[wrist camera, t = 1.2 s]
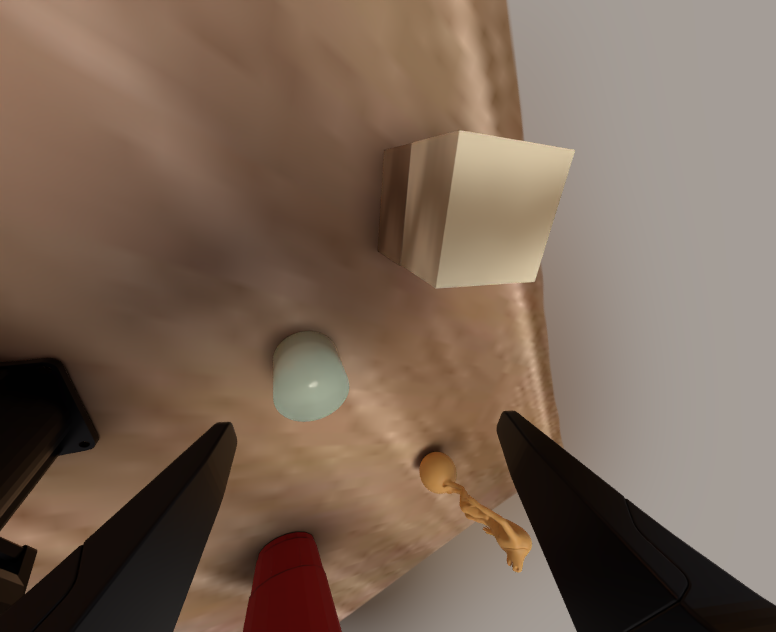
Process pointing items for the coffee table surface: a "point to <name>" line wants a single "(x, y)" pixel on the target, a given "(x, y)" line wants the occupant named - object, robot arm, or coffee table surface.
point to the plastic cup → (291, 589)
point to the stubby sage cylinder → (308, 377)
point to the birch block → (480, 208)
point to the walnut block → (393, 201)
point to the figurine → (475, 508)
